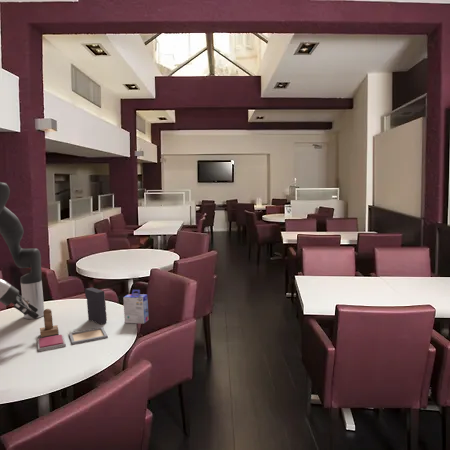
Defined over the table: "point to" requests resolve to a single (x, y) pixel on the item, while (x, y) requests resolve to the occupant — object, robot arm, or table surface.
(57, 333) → the wooden stamp
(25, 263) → the robot arm
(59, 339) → the ink pad
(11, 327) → the table surface
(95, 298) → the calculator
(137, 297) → the ink cartridge box
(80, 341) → the grey flat frame
